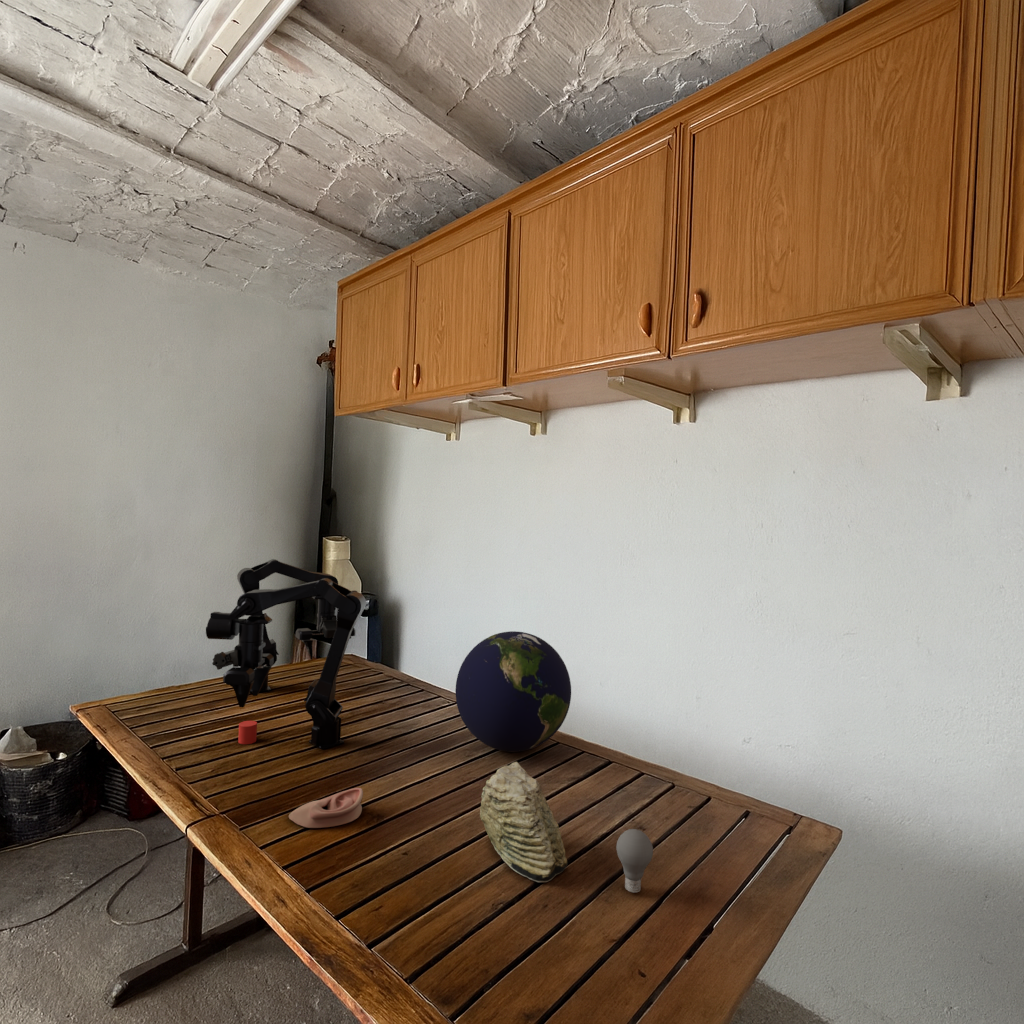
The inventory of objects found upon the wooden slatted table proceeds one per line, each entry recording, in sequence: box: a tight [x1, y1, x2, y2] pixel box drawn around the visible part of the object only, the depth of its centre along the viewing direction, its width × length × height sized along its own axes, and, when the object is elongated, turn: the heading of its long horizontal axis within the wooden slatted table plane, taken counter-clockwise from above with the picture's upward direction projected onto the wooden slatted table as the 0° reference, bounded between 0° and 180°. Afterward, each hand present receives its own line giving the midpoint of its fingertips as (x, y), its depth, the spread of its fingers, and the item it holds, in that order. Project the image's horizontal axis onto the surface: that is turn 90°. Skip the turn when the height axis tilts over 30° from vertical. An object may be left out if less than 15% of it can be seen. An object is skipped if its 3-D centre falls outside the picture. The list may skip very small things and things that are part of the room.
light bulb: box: [615, 828, 654, 894], centre depth 106 cm, size 6×6×10 cm
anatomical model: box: [288, 787, 364, 829], centre depth 126 cm, size 13×4×12 cm
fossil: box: [479, 761, 569, 883], centre depth 114 cm, size 9×18×15 cm, turn 46°
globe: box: [454, 630, 572, 753], centre depth 164 cm, size 30×30×30 cm
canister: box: [237, 720, 258, 745], centre depth 162 cm, size 4×4×4 cm
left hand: (325, 657), depth 214 cm, fingers open, 9 cm apart
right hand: (248, 701), depth 161 cm, fingers open, 9 cm apart
